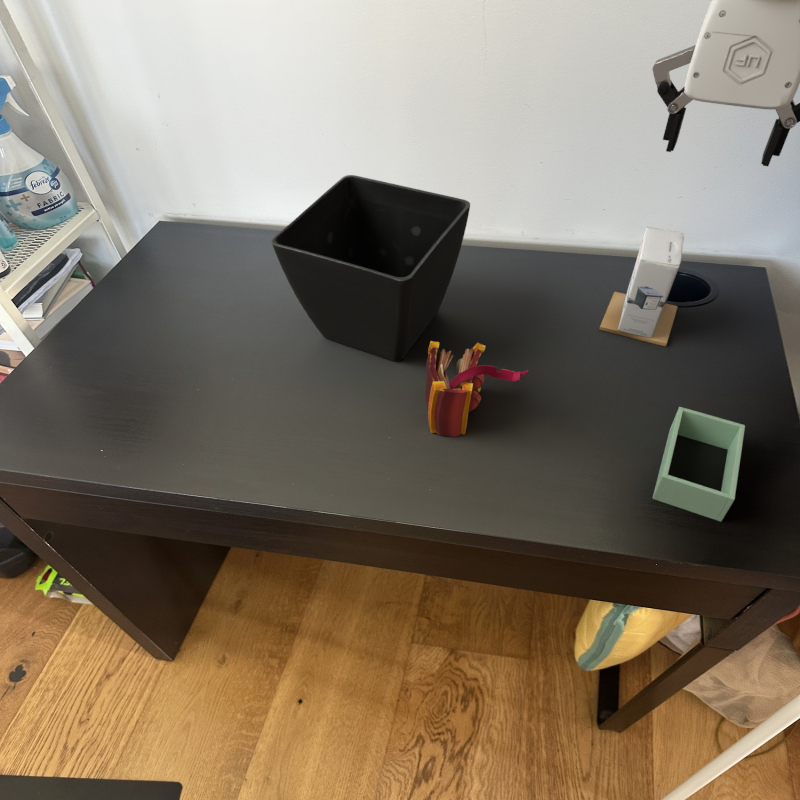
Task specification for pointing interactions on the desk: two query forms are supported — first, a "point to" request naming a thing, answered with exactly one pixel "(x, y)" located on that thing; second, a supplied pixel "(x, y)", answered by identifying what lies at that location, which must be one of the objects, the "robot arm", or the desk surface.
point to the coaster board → (612, 324)
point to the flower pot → (373, 261)
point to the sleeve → (695, 494)
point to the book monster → (457, 388)
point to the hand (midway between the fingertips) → (717, 153)
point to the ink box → (651, 281)
